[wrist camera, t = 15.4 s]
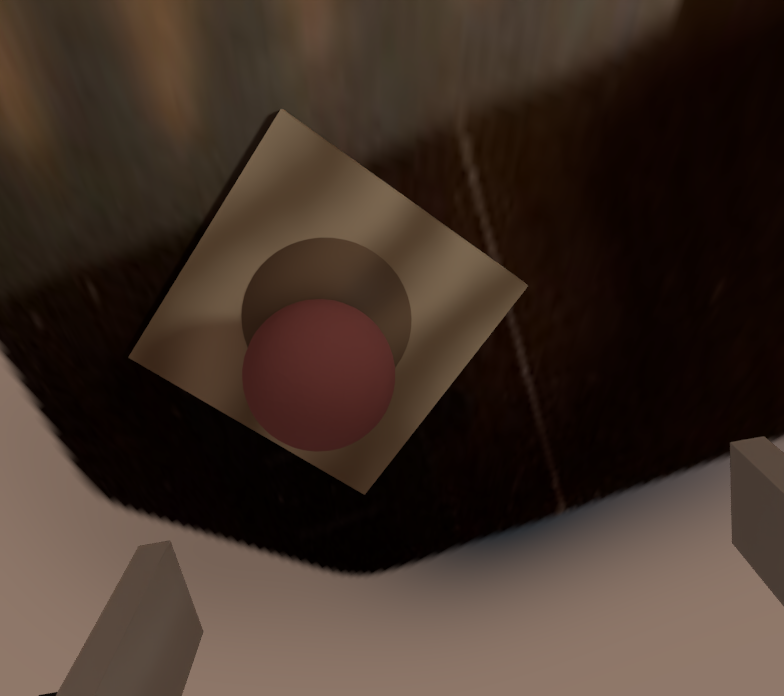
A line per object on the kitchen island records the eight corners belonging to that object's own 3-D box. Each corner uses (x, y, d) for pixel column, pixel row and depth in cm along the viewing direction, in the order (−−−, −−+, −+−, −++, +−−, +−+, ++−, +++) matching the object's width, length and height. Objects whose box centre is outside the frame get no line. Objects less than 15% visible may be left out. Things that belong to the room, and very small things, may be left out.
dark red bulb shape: (348, 239, 37) (342, 294, 26) (410, 341, 40) (429, 432, 28) (243, 301, 38) (194, 379, 27) (309, 397, 41) (289, 507, 29)
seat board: (524, 282, 40) (528, 286, 39) (364, 488, 44) (364, 495, 43) (282, 108, 36) (280, 108, 35) (132, 352, 40) (127, 357, 39)
